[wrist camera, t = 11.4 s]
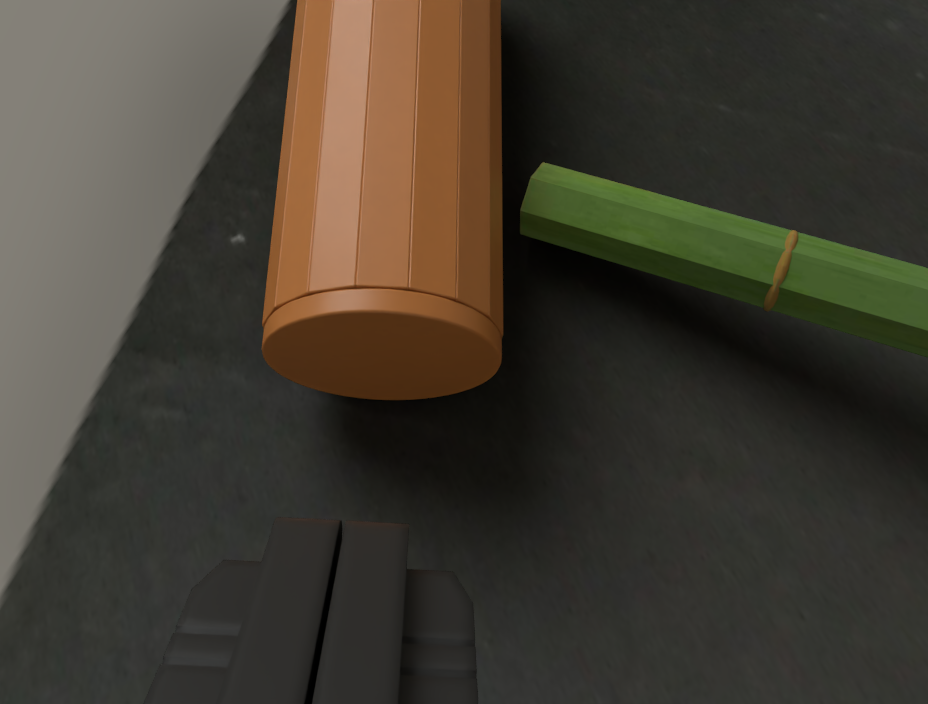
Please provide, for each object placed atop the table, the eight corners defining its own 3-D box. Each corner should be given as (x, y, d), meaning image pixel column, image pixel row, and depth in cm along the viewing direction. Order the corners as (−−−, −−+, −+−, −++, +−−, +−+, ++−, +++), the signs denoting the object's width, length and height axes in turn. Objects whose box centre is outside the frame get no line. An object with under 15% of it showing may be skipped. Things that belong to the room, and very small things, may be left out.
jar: (456, 297, 18) (464, -203, 23) (212, 330, 19) (275, -142, 25) (528, 389, 23) (519, -39, 28) (329, 409, 24) (359, 1, 30)
